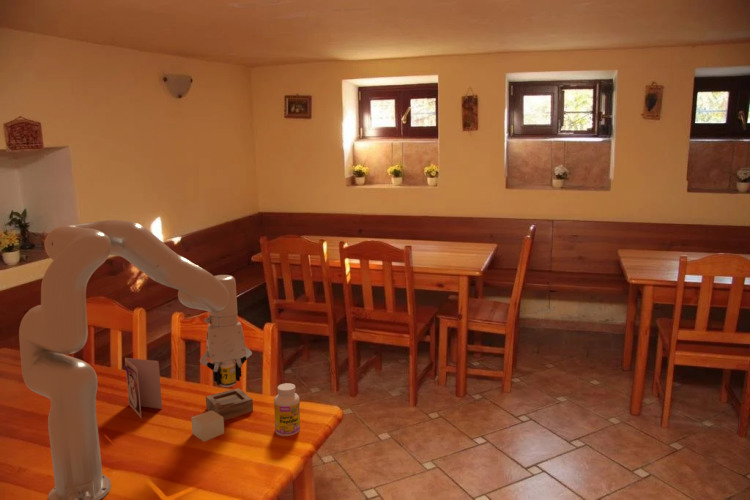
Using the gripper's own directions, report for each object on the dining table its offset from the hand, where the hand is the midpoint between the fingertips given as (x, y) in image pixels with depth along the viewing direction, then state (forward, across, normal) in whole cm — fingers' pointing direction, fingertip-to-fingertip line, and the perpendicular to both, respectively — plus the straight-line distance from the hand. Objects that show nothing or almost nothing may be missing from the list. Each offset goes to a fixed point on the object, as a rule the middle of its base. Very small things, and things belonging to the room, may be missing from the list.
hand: (227, 380), depth 169 cm
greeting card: (+10, -21, +14) cm, 27 cm away
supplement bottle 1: (+1, 0, 0) cm, 1 cm away
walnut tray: (+10, 0, 0) cm, 10 cm away
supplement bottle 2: (+10, +11, -19) cm, 24 cm away
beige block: (+10, -8, -10) cm, 16 cm away
